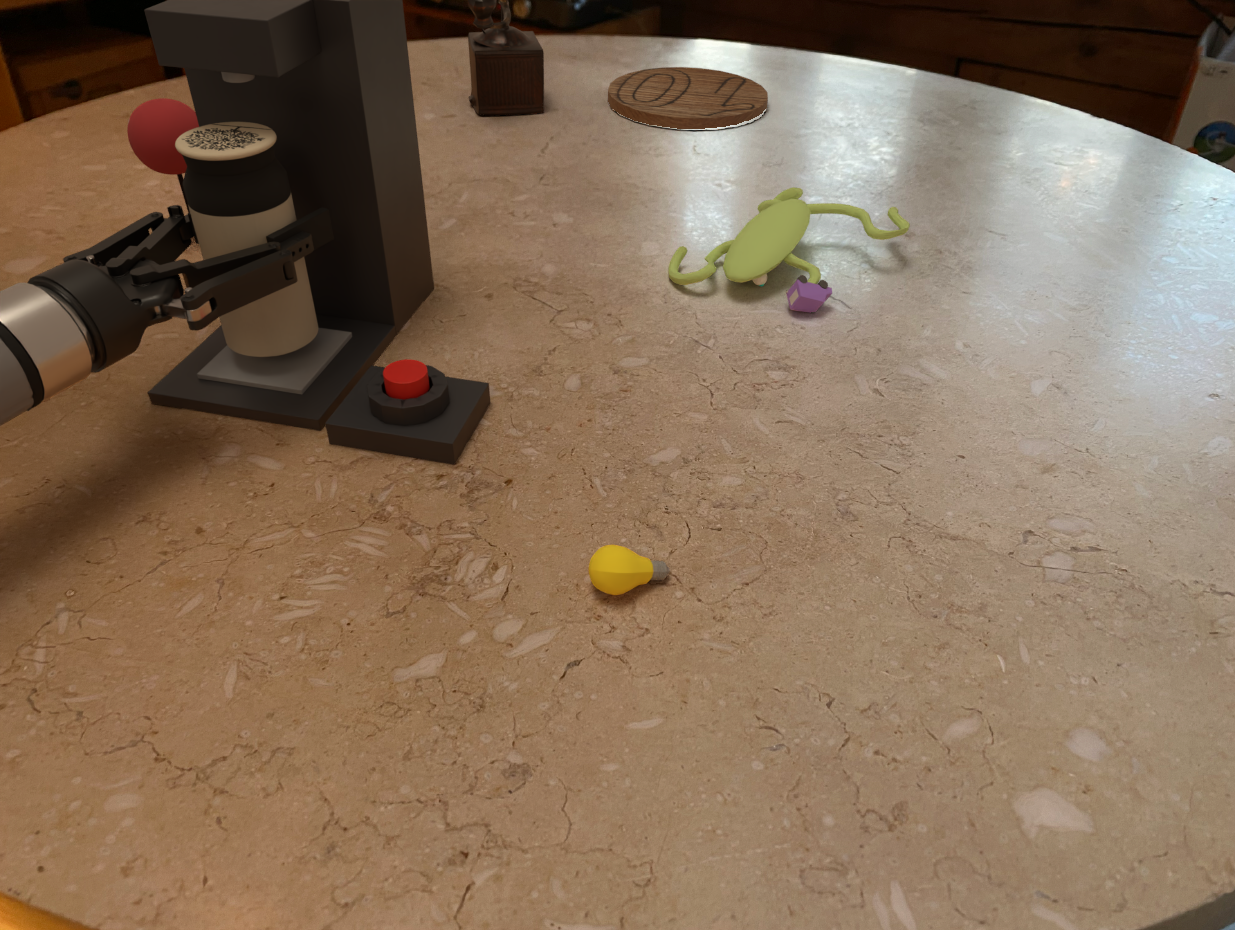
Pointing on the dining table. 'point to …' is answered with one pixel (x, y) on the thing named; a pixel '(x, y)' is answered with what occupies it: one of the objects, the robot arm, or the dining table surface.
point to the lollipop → (161, 135)
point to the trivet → (687, 97)
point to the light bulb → (623, 569)
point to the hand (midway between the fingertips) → (289, 212)
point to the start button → (406, 379)
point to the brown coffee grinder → (504, 64)
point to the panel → (410, 417)
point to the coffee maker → (311, 185)
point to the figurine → (780, 247)
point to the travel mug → (246, 228)
